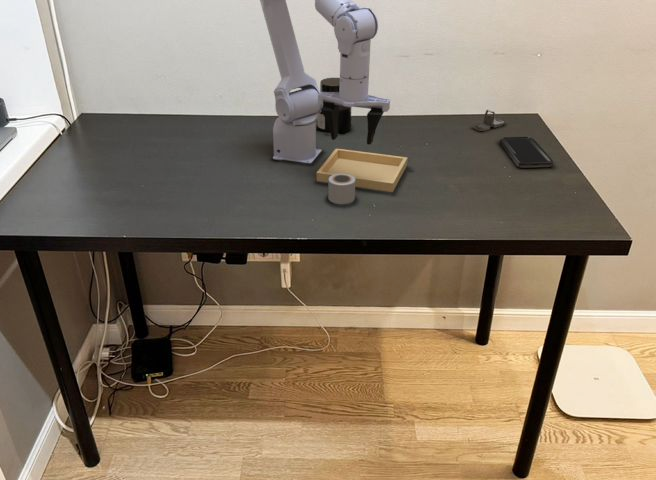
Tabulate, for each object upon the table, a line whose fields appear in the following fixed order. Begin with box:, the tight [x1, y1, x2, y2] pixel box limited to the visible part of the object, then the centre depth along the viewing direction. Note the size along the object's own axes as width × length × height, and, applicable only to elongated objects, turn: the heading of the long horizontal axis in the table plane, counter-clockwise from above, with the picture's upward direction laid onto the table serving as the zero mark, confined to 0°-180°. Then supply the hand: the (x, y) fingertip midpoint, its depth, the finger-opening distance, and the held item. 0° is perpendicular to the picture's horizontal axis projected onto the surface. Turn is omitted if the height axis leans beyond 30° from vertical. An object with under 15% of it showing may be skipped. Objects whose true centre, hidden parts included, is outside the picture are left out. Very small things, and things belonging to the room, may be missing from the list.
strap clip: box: [472, 109, 505, 132], centre depth 163 cm, size 8×3×4 cm, turn 122°
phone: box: [499, 136, 554, 169], centre depth 149 cm, size 8×1×15 cm
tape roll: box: [327, 173, 356, 205], centre depth 131 cm, size 5×5×5 cm
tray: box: [316, 147, 408, 193], centre depth 141 cm, size 17×14×3 cm
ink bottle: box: [316, 77, 352, 135], centre depth 162 cm, size 10×9×12 cm
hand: (352, 140), depth 135 cm, fingers open, 7 cm apart
